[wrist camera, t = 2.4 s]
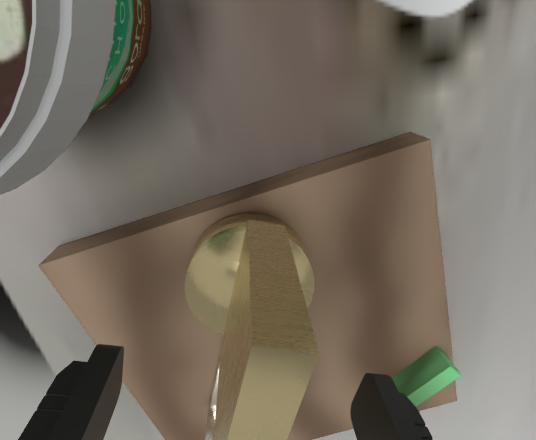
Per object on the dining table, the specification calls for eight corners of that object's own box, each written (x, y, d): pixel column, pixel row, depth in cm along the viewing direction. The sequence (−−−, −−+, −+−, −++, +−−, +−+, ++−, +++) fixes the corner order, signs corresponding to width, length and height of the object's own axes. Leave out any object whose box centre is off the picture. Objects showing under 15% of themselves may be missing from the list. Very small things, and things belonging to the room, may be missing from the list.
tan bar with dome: (200, 193, 15) (152, 333, 7) (323, 215, 16) (405, 363, 8) (169, 406, 21) (122, 620, 13) (261, 414, 22) (272, 619, 14)
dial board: (410, 131, 17) (449, 146, 14) (441, 376, 25) (471, 422, 22) (58, 246, 18) (18, 283, 15) (192, 444, 26) (185, 497, 23)
